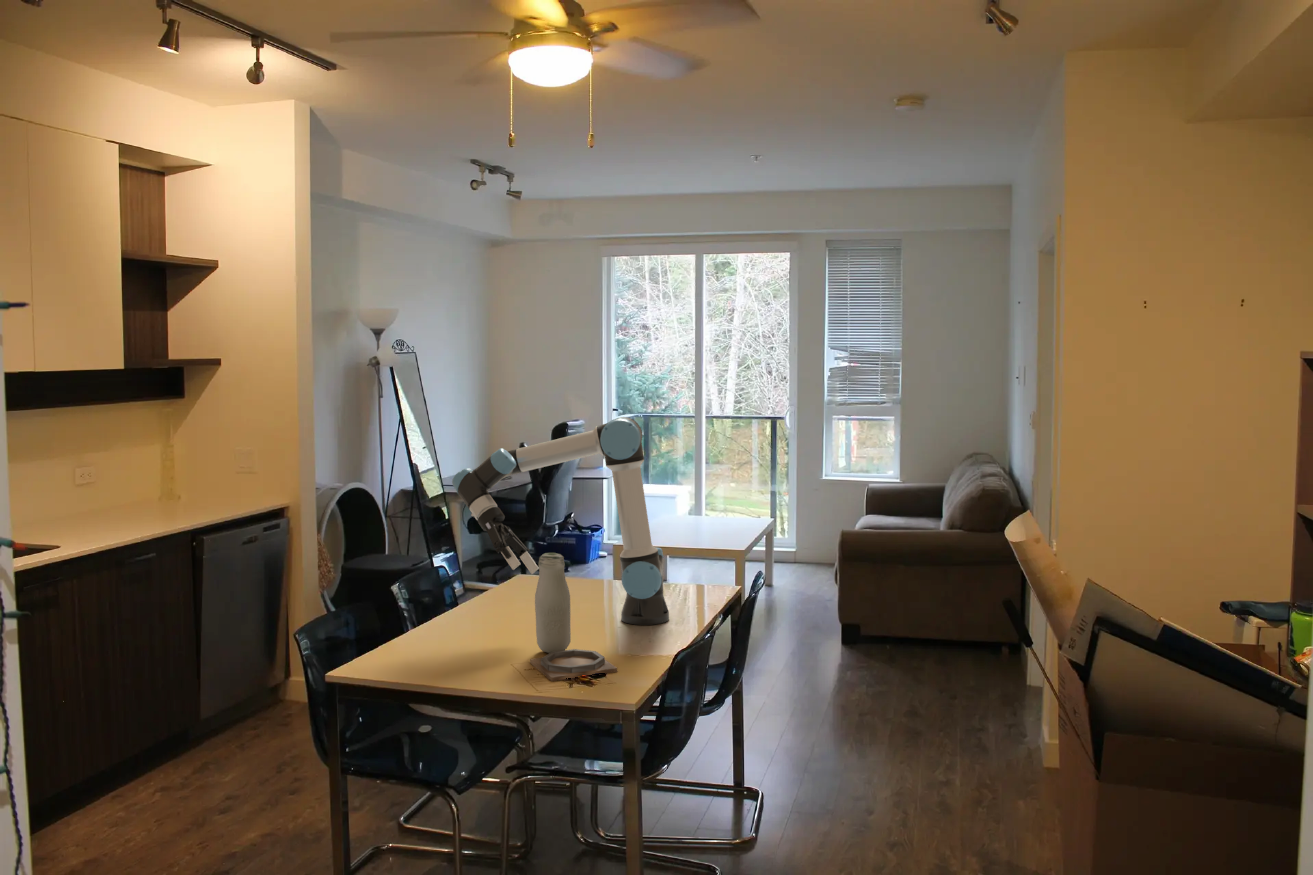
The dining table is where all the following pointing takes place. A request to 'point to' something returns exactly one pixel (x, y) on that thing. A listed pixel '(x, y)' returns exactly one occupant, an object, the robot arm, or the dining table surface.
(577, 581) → the dining table surface
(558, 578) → the glass bottle
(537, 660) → the socket board
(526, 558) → the robot arm
